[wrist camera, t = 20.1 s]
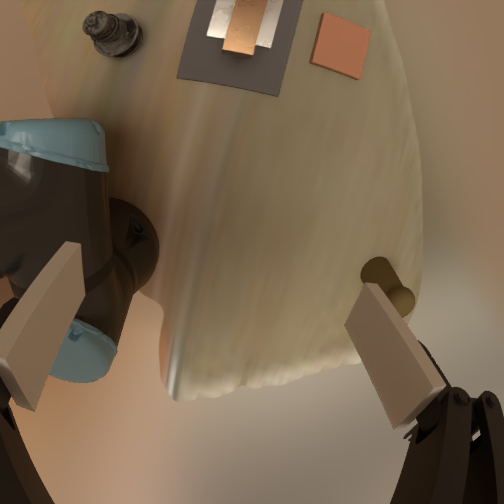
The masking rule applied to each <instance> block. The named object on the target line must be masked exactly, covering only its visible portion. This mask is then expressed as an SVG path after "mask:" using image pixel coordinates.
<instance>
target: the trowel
mask: <svg viewBox="0 0 504 504" xmlns="http://www.w3.org/2000/svg"><path fill="white" fill-rule="evenodd" d="M283 1H284V0H217V1H216V5H215V8H214V11H213V15H212V18H211V22H210V25H209V29H208V32H207V37H210V38H216V39H223V40H224V44H223V48H222V54H225V55H231V56H236V57H241V58H246V59H250V58H251V57H252V56H253V53H254V49H255V46H258V47H262V48H267V49H270V48H271V45H272V41H273V38H274V34H275V30H276V26H277V23H278V19H279V15H280V12H281V8H282V4H283Z"/></svg>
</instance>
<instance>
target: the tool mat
mask: <svg viewBox="0 0 504 504" xmlns="http://www.w3.org/2000/svg"><path fill="white" fill-rule="evenodd" d="M216 1H217V0H197V3H196V6H195V10H194V13H193V16H192V20H191V23H190V27H189V30H188V34H187V38H186V41H185V45H184V49H183V53H182V57H181V61H180V65H179V70H178V74H177V78H180V79H188V80H195V81H202V82H208V83H215V84H220V85H226V86H232V87H237V88H242V89H247V90H251V91H256V92H260V93H265V94H269V95H273V96H277V97H278V95H279V91H280V87H281V83H282V79H283V75H284V71H285V67H286V63H287V59H288V56H289V52H290V48H291V44H292V40H293V36H294V32H295V29H296V25H297V21H298V17H299V13H300V10H301V6H302V2H303V0H284V1H283V4H282V8H281V12H280V15H279V19H278V23H277V26H276V30H275V34H274V38H273V41H272V45H271V48H270V49H267V48H262V47H258V46H255V49H254V53H253V56H252V57H251V58H250V59H246V58H241V57H236V56H231V55H225V54H222V48H223V44H224V40H223V39H216V38H210V37H207V32H208V29H209V25H210V22H211V18H212V15H213V11H214V8H215V5H216Z"/></svg>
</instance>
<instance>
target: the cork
mask: <svg viewBox="0 0 504 504" xmlns="http://www.w3.org/2000/svg"><path fill="white" fill-rule="evenodd" d="M361 280H362V282H363V283H364V284H365V283H374V284H378V285H379V287H380V288H381V289H382V291H383V292H384V294H385V295H386V296H387V298H388V299H389V300H390V302H391V303H392V304H393V306H394V307H395V309H396V310H397V311H398V313H399V314H400V316H401V317H402V318H403V317H405V316H407V315H408V314H409V313H410V312H411V311H412V310H413V308H414V305H415V296H414V294H413V293H412V291H411V290H410V289H408V288H406V287H404V286H403V285H402V283H401V281H400V280H399V278H398V276H397V275H396V273H395V271H394V270H393V268H392V266H391V265H390V263H389V261H388V260H387V259H386V258H384V257H375V258H373V259H371V260H369V261H368V262H367V263H366V264H365V265H364V267H363V268H362V271H361Z"/></svg>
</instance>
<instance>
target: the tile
mask: <svg viewBox="0 0 504 504" xmlns="http://www.w3.org/2000/svg"><path fill="white" fill-rule="evenodd" d="M370 35H371V31H370V30H367V29H365V28H363V27H361V26H358V25H356V24H354V23H352V22H349V21H347V20H344V19H342V18H339V17H337V16H334V15H331V14H329V13H326V12H324V13H323V14H322V15H321V19H320V23H319V27H318V31H317V35H316V39H315V43H314V47H313V51H312V54H311V58H310V62H309V63H311V64H314V65H317V66H320V67H323V68H326V69H329V70H332V71H334V72H337V73H340V74H343V75H345V76H348V77H350V78H353V79H355V80H359V79H360V77H361V73H362V69H363V65H364V61H365V57H366V52H367V48H368V44H369V39H370Z"/></svg>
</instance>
